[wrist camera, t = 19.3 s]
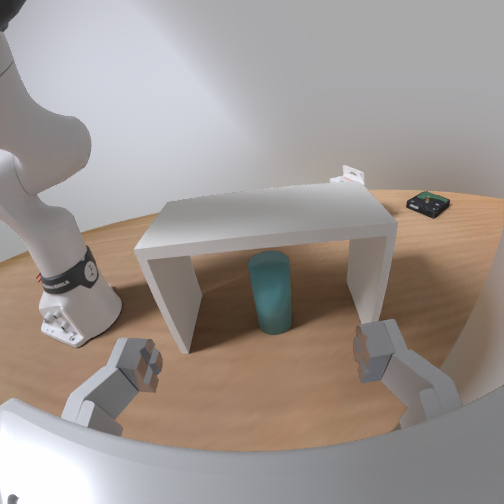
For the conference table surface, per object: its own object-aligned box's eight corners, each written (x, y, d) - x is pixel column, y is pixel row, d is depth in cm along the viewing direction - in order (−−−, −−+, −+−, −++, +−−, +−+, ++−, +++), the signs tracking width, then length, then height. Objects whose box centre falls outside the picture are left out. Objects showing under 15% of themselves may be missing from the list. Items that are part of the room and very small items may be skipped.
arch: (181, 353, 40) (133, 249, 29) (196, 295, 52) (167, 202, 41) (373, 337, 37) (397, 222, 27) (352, 281, 49) (358, 181, 38)
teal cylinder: (258, 336, 41) (247, 276, 35) (258, 311, 46) (248, 252, 40) (293, 333, 41) (290, 272, 35) (291, 308, 46) (287, 249, 39)
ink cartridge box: (329, 219, 71) (328, 166, 63) (343, 215, 72) (343, 163, 64) (349, 232, 64) (350, 175, 56) (363, 227, 65) (366, 172, 57)
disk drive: (433, 221, 64) (449, 206, 70) (435, 212, 63) (450, 199, 69) (405, 209, 72) (423, 197, 78) (406, 201, 71) (424, 189, 76)
